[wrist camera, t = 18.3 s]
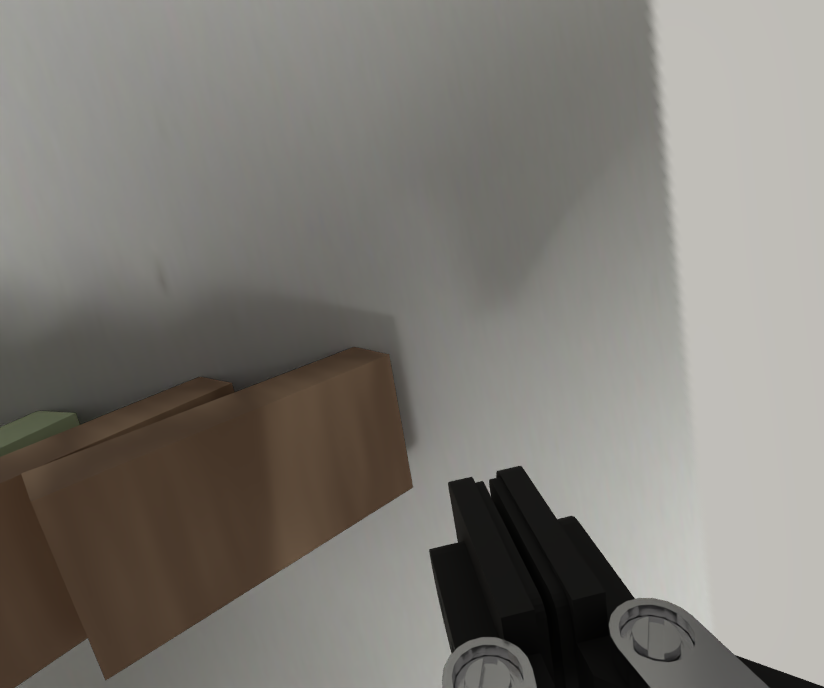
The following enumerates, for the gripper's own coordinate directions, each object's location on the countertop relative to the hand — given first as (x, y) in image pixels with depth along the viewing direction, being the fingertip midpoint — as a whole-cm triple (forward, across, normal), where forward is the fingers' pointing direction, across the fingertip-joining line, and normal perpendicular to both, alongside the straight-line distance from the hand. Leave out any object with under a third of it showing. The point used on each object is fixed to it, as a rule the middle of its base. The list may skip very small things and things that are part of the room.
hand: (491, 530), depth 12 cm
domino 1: (+8, +2, 0) cm, 8 cm away
